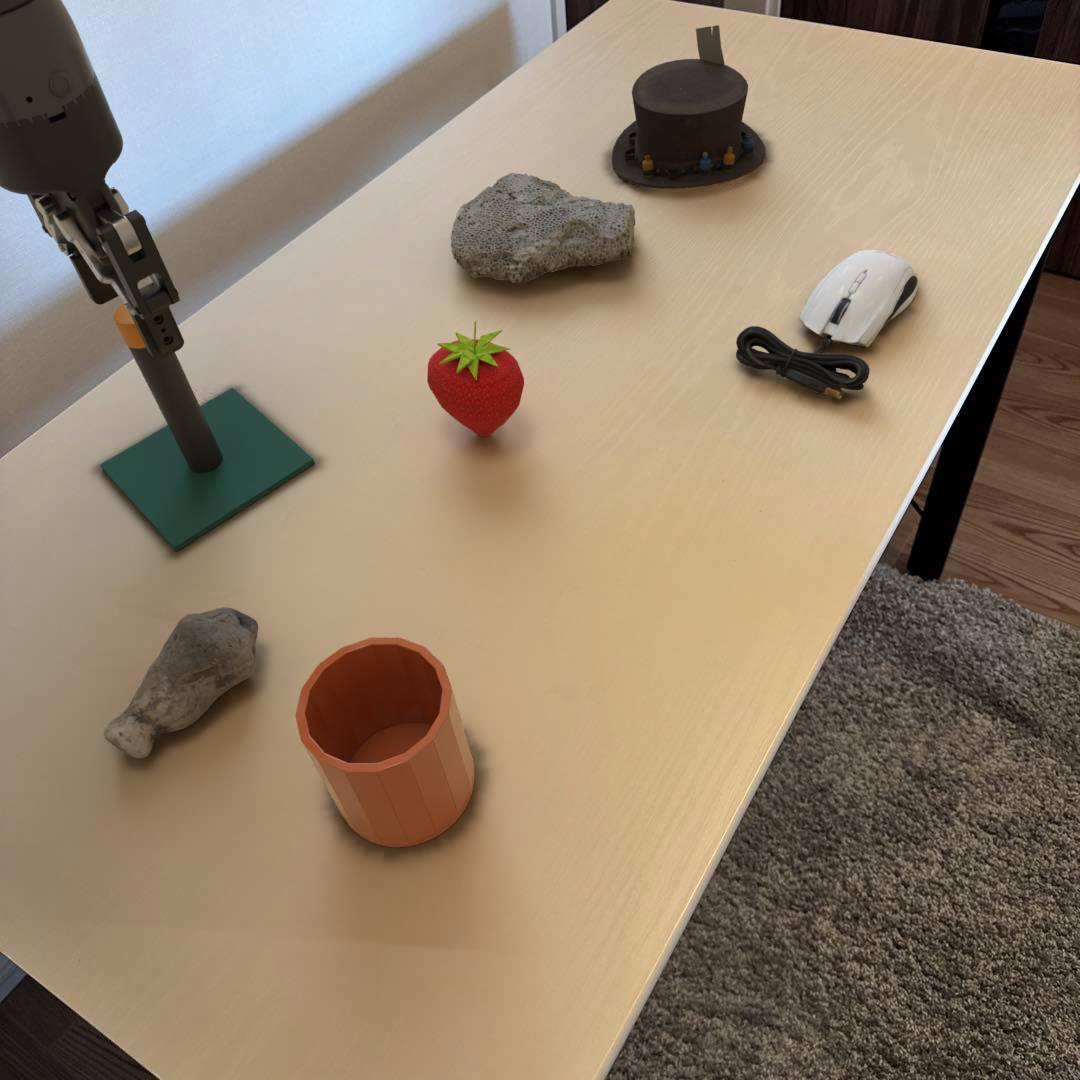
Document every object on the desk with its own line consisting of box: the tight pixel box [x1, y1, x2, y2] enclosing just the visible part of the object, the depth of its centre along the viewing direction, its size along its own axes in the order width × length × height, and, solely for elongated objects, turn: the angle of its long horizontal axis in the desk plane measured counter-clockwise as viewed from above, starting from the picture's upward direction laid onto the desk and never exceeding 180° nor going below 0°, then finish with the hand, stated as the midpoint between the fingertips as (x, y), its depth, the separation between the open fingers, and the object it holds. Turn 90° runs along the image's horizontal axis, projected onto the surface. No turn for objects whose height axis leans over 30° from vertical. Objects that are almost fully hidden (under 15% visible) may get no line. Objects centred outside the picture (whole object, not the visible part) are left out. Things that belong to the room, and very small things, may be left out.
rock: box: [450, 172, 636, 284], centre depth 90 cm, size 15×16×5 cm
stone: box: [103, 606, 259, 759], centre depth 62 cm, size 10×5×8 cm
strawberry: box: [426, 320, 525, 437], centre depth 74 cm, size 6×8×10 cm
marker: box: [112, 303, 223, 473], centre depth 72 cm, size 3×3×14 cm
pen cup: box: [295, 636, 475, 848], centre depth 56 cm, size 8×8×9 cm
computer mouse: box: [735, 249, 919, 400], centre depth 80 cm, size 10×18×4 cm, turn 144°
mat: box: [99, 387, 316, 552], centre depth 78 cm, size 12×12×1 cm
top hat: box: [611, 24, 767, 190], centre depth 96 cm, size 15×15×10 cm
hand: (138, 323), depth 68 cm, fingers open, 8 cm apart
